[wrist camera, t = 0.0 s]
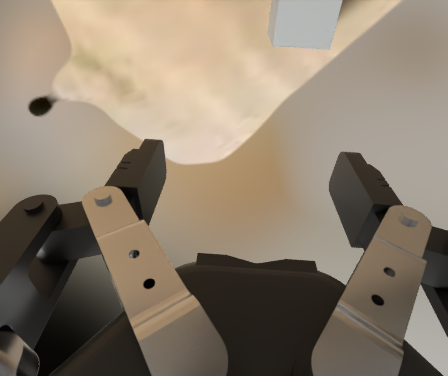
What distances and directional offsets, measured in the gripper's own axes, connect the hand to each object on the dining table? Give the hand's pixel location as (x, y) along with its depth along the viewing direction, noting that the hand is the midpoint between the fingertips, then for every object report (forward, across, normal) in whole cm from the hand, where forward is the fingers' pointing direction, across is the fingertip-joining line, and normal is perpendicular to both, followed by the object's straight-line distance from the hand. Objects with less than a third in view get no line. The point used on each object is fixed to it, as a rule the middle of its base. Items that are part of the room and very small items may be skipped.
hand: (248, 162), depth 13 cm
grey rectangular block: (+29, -6, -4) cm, 30 cm away
